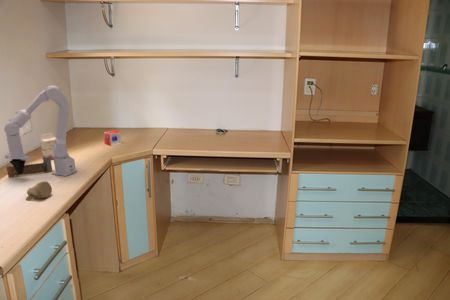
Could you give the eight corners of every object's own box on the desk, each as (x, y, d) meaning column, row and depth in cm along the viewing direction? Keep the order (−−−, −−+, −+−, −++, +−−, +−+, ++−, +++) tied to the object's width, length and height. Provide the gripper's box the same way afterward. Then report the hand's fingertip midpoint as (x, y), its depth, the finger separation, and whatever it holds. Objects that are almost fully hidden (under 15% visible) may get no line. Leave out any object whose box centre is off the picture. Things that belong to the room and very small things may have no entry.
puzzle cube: (115, 141, 243) (114, 130, 241) (121, 143, 238) (120, 132, 236) (104, 144, 238) (103, 132, 235) (110, 146, 232) (109, 134, 230)
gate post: (52, 170, 189) (50, 156, 187) (48, 172, 186) (46, 158, 184) (48, 170, 190) (46, 156, 188) (44, 171, 187) (42, 157, 185)
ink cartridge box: (47, 161, 204) (43, 136, 200) (43, 159, 207) (38, 134, 203) (61, 157, 210) (58, 133, 206) (57, 156, 213) (54, 131, 209)
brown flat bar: (46, 172, 186) (45, 162, 184) (8, 177, 180) (6, 167, 178) (46, 171, 187) (45, 161, 186) (8, 176, 181) (6, 166, 179)
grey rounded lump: (33, 193, 162) (42, 174, 160) (48, 205, 159) (58, 186, 158) (19, 195, 154) (28, 176, 153) (35, 208, 152) (44, 188, 150)
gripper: (-4, 147, 172) (2, 174, 176) (19, 150, 167) (24, 178, 171) (10, 143, 179) (15, 169, 182) (32, 146, 173) (36, 173, 177)
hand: (20, 173), depth 177 cm, fingers closed
